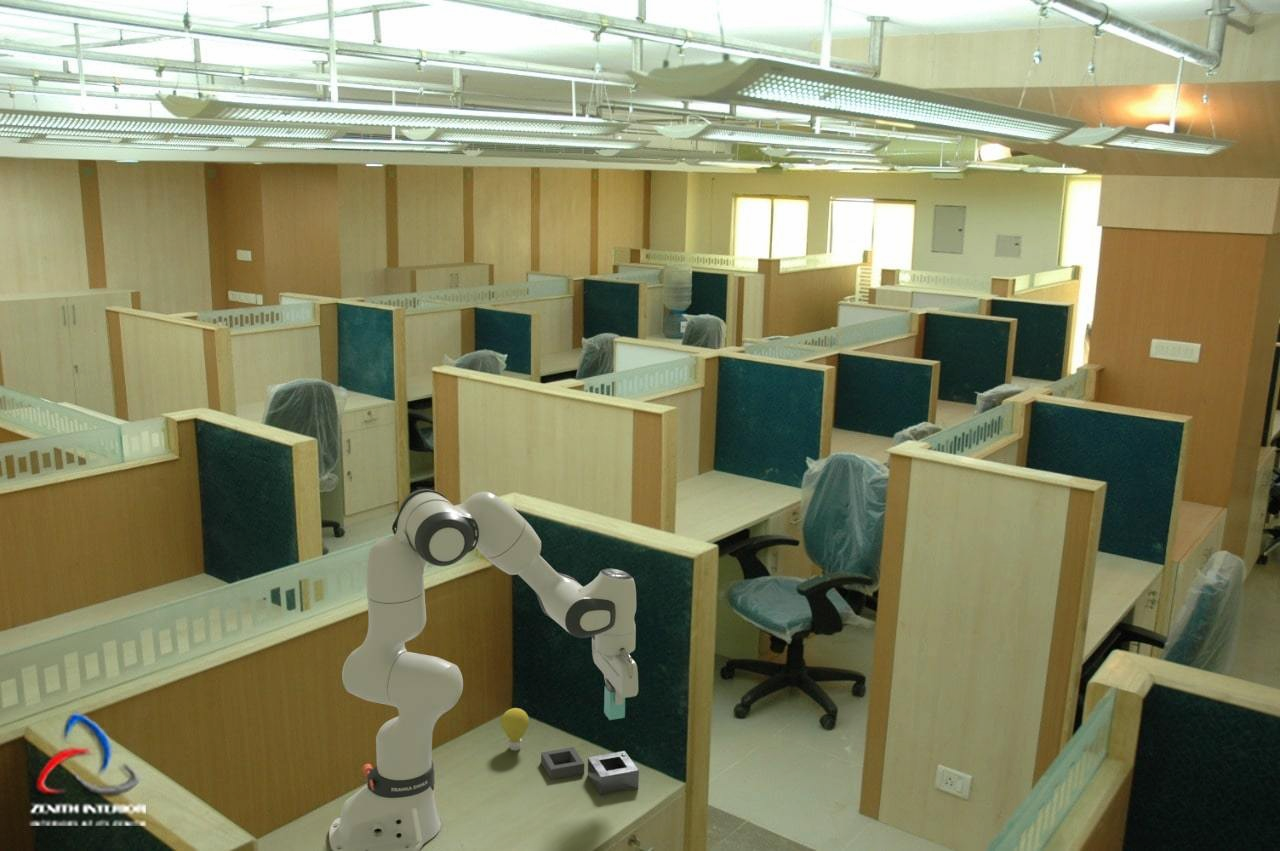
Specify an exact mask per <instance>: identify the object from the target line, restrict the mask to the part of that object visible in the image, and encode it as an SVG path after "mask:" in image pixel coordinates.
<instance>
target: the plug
mask: <svg viewBox="0 0 1280 851" xmlns="http://www.w3.org/2000/svg"><path fill="white" fill-rule="evenodd" d="M615 693H616V691H615V688H614V686H613V685H612V684H611V683H610V681H609V680H606V683H605V685H604V694H603V695H604V696H603V697H604V698H603V699H604V700H603V701H604V702H603V703H604V705H603V706H604V707H603V713H604V714H605V715H604V716H606V717H607V718H608V721H612V720H618V719H624V718H626V717H625V716H626V698H623V704H620V705H616V704H615V702H614V695H615Z"/></svg>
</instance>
